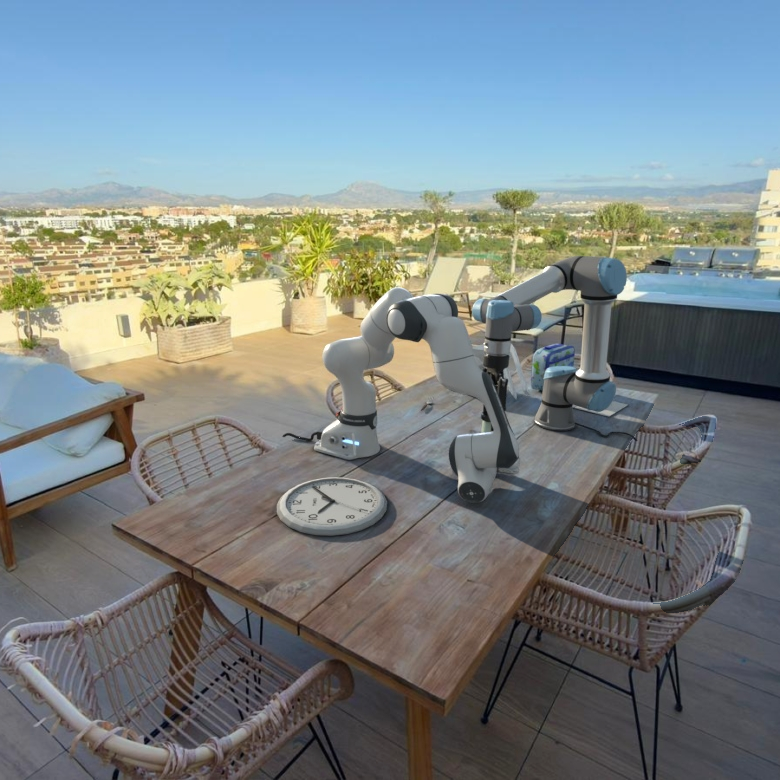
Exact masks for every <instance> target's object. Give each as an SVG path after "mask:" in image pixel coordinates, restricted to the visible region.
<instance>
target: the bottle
mask: <svg viewBox="0 0 780 780" xmlns="http://www.w3.org/2000/svg"><path fill="white" fill-rule="evenodd" d="M484 432H492V431H491V422H486V421H483V420H482V419H481V433H484Z"/></svg>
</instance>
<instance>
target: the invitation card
mask: <svg viewBox="0 0 780 780" xmlns="http://www.w3.org/2000/svg"><path fill="white" fill-rule="evenodd" d="M628 406H629V404H627V403H623V402H618V401H614V400H613V401H612V402H611V404H610V405H609V406H608V408H606V409H605V410H604V411H601V412H596V411H592V410H588V409H585V408H582V407H579V406H576V405H575V406H574V407H573V409H575V410H581V411H584V412H587V413H593V414H596V415H600V416H604V417H608V418H609V417H611V416H613V415H614V414H616V413H617V412H619V411H621V410H623V409H624V408H626V407H628Z"/></svg>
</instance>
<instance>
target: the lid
mask: <svg viewBox="0 0 780 780" xmlns="http://www.w3.org/2000/svg"><path fill="white" fill-rule="evenodd" d="M480 420H481V421H482V420H483V421H486V422H491V421H490V418H489V416H488V413H487V411H483V410H482V412H481V415H480Z"/></svg>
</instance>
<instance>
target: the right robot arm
mask: <svg viewBox="0 0 780 780" xmlns="http://www.w3.org/2000/svg"><path fill="white" fill-rule="evenodd" d="M627 275H628V274H627V268H626V266H625V264H624V263H623V261H621V260H620V259H618V258H614V257H609V256H588V255H587V256H586V255H574V256H571V257H567V258H564V259H561V260H559V261H556V262H554V263H552V264H550V265H548V266H546V267H545V268H544V269H543V270H542V272H541V273H539V274H537V275H535V276H533V277H531V278H529V279H527V280H525V281H523V282H521V283H520V284H518V285H515V286H513V287H511V288H510V289H508V290H505V291H504V292H502V293H500V294H498V295H496V296H494V297H492V298H489V299H488V298H479V299H477V300H475V302H474V303H473V305H472V308H471V315H472V318H473V319H474V321H477V322H479V323H482V324H485V333H484V342H483V344H482V345H484V351H485V352H486V353H485V354H484V357H483V365H484V366H485V367H487V368H483V372H486V373H488V374H489V375H490V377H491V378H492V380H493V382H494V384H495V387H496V389H497V392H498V394H499V397H500V400H501V402H502V405H503V408H504V411H505V412H506V411H507V395H508V379H506V377H505V373H504V369H505V368H507V367H508V368H509V365H510V360H509V355H508V354H509V353H510V346H511V344H512V333H515V332H522V331H531V330H533V329H536V328H538V326H539V325H540V324H541V322H542V317H543V316H542V310H541V308H540V307H538V306H537V305H535V304H533V303H535V302H537V301H539V300H540V299H542V298H544V297H547V296H548V295H549V294H553V293H554V294H557V293H560V292H561V291H567V290H568V291H569V290H571V291H579V292H580V300H582V302H583V303H584V307H583V308H584V309H583V324H582V338H581V351H580V353H581V354H580V367H579V369H578V368H577V367H576V366H573V367H571V366H555V367H549V368H547V369H546V371H545V375H544V378H543V379H544V381H543V390H542V394H541V402H540V405H539V407H538V410H537V411H536V413H535V417H534V424H535V425H536V426H537V427H539V428H542V429H544V430H549V431H556V432H567V431H572V430H574V429H575V428H576V426H579V427H582V428H583V429H584V428H585V429H587V430H591V431H594V432H595V433H597V434H598V435H599V436H600V437H604V438H607V437H609V436H611V435H614V434H615V435H617V434H618V435H626V436H629V437H631V438H632V439H633V440H634V441H635V442H638V439H637V438H636V437H635V436H634V435H632V434H631V433H628V432H624V431H610V432H609V433H608V434H602V433H601V431H599V430H598V429H595V428H593V427H591V426H586V425H584V424H582V423H578V422H576V418H575V417H576V416H575V413H574V407H573V406H575V407H576V406H579V407H582V408H585V409H588V410H592V411H596V412H601V411H604V410H605V409H606V408H608V406H609V405H610V404H611V402H612V401H614V398H615V396H616V392H617V386H616V384H615V383H614V382H613V381H611V380H610V379H611V373H610V372H609V371H608V370H607V363H608V350H609V339H610V327H611V316H612V306H613V305H612V304H613V303H614V302H615V301H617V300H618V296H619V295H620V294H622V293H623V291H624V290H625V287H626V285H627V281H628V280H627V279H628V276H627ZM482 404H483V403H482ZM483 411H487V410H486V408H485V405H484V404H483V405H482V412H483ZM491 431H494V429H493V427H492V424H491Z"/></svg>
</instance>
